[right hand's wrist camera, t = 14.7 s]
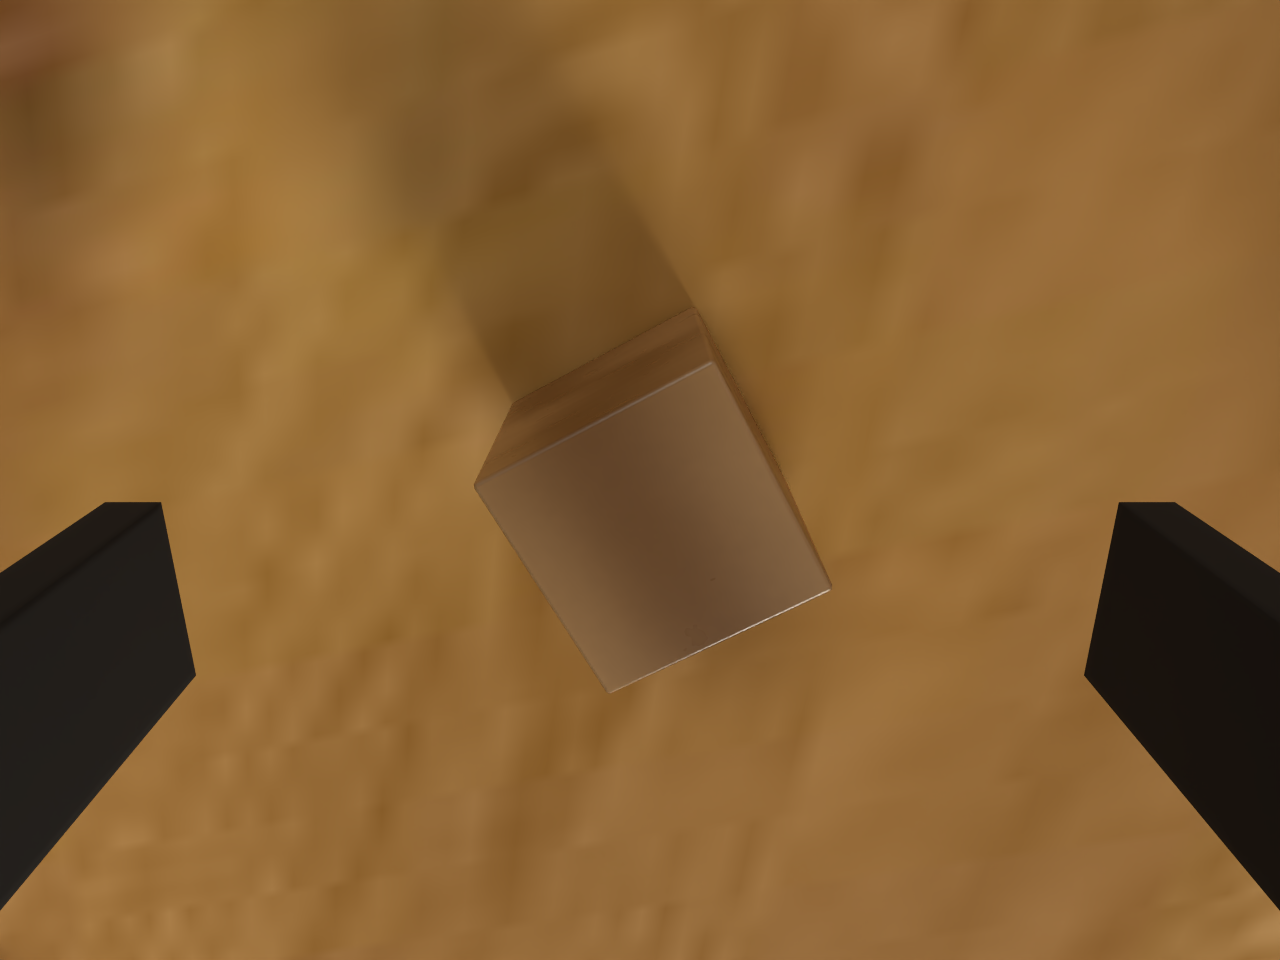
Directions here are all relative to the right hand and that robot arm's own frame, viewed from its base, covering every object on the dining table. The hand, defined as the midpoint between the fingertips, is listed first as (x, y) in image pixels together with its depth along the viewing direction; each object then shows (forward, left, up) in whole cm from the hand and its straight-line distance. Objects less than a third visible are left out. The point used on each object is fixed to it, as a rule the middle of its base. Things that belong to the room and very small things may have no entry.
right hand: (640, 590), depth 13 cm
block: (0, 0, -6) cm, 6 cm away
